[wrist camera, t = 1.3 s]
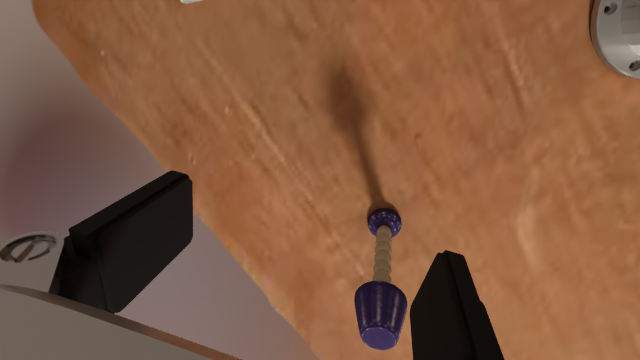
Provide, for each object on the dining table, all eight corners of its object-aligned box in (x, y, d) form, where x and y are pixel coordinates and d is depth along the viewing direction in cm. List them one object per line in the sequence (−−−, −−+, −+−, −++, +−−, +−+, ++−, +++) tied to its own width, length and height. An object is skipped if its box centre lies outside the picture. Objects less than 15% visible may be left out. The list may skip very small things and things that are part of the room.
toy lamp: (386, 244, 38) (388, 367, 24) (356, 226, 38) (339, 340, 23) (408, 218, 36) (425, 337, 21) (376, 200, 36) (371, 307, 21)
